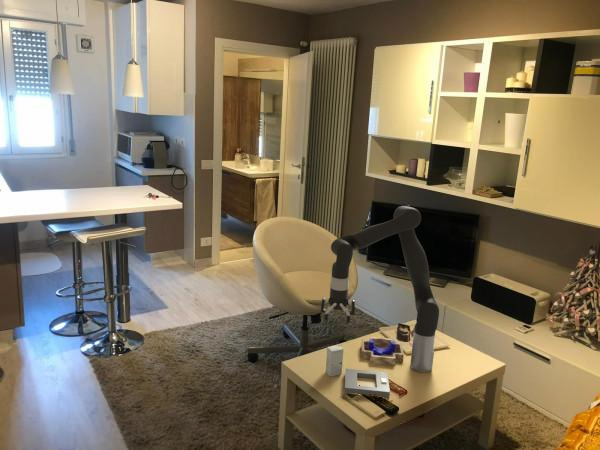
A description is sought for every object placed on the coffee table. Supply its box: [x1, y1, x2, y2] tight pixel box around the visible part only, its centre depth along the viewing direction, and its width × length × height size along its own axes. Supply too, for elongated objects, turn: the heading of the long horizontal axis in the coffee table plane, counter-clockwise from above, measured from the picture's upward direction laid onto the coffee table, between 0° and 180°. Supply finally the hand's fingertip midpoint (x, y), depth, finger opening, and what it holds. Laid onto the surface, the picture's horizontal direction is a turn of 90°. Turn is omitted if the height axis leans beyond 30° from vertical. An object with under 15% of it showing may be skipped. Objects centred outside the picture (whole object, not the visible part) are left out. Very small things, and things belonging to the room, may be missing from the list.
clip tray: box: [360, 336, 405, 366], centre depth 236 cm, size 19×19×4 cm
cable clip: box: [368, 338, 396, 356], centre depth 236 cm, size 12×4×6 cm, turn 85°
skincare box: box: [325, 344, 344, 377], centre depth 217 cm, size 6×4×12 cm
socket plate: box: [344, 368, 391, 399], centre depth 209 cm, size 18×15×4 cm
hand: (336, 322), depth 212 cm, fingers open, 8 cm apart
